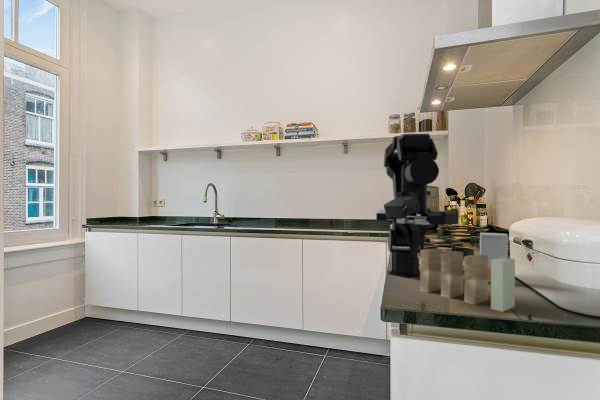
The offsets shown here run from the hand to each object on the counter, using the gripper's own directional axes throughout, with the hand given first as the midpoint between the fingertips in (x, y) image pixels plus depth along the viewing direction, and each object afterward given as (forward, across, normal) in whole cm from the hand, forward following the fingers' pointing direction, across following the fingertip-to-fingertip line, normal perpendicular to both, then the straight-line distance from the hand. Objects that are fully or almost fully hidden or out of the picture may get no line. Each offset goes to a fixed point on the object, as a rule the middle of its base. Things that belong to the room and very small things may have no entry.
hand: (413, 252), depth 78 cm
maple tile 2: (+8, +10, 0) cm, 12 cm away
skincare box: (+8, +9, +20) cm, 24 cm away
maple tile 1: (+8, +5, 0) cm, 9 cm away
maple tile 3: (+8, +15, 0) cm, 16 cm away
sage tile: (+8, +20, 0) cm, 21 cm away
